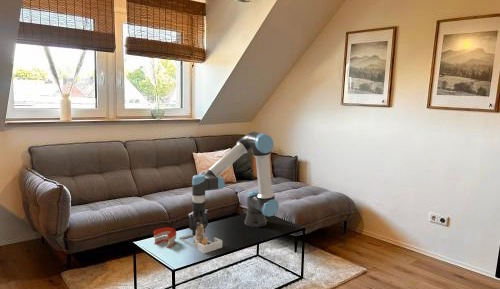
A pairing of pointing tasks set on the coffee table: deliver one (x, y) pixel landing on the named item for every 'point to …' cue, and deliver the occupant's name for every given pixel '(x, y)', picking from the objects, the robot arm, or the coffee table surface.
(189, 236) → the rails
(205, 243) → the ball
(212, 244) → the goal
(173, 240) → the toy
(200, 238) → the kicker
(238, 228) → the coffee table surface
